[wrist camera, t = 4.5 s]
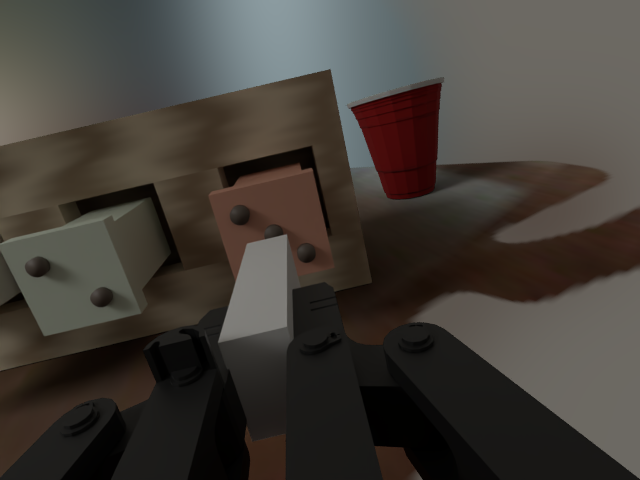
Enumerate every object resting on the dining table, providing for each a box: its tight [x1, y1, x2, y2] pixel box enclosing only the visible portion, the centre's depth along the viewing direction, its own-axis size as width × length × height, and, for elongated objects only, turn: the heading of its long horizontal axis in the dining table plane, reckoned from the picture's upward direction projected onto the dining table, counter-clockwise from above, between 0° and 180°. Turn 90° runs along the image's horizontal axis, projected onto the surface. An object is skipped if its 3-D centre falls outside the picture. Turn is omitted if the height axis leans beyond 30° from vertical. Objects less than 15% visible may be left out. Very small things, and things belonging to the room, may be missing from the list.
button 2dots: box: [0, 197, 171, 336], centre depth 23 cm, size 5×8×5 cm, turn 5°
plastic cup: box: [347, 77, 444, 199], centre depth 47 cm, size 11×11×12 cm
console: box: [0, 69, 372, 371], centre depth 31 cm, size 30×10×14 cm, turn 95°
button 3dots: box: [208, 162, 335, 282], centre depth 23 cm, size 5×8×5 cm, turn 5°
